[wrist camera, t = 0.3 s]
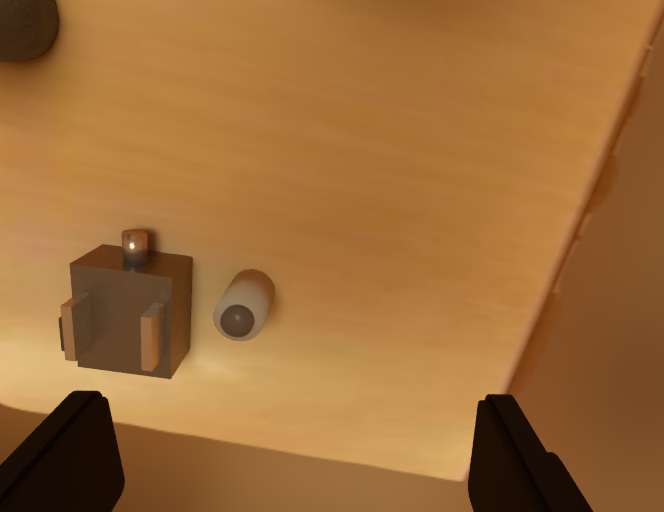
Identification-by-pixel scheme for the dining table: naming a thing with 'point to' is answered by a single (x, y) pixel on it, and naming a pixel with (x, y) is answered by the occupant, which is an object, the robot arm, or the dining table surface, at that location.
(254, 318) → the toy camera lens
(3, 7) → the bottle
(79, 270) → the box with side knob
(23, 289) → the dining table surface
